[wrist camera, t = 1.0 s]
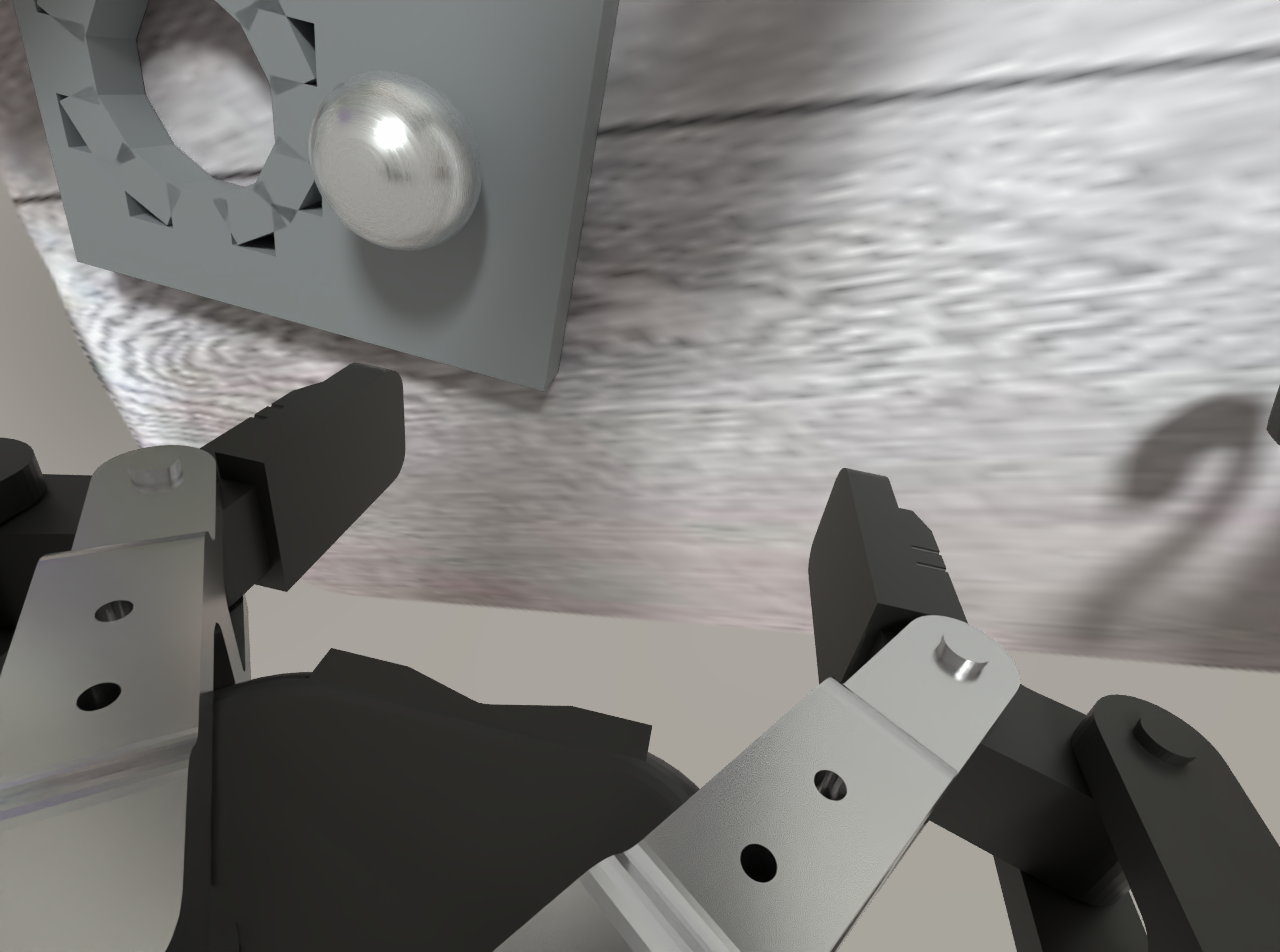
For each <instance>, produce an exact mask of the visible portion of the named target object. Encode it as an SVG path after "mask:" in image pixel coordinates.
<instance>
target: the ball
mask: <svg viewBox="0 0 1280 952" xmlns="http://www.w3.org/2000/svg"><path fill="white" fill-rule="evenodd" d="M309 159H310V165H311V170H312V174H313V177H314V180H315V183H316V185H317V187H318V190H319V192H320V194H321V196H322V197H323V199H324V201H325V202H326V204H327V205H328V207H329V208H330V210H331V211H332V212H333V213H334V215H335V216H336V217H337V218H338V219H339V220H340V221H341V222H342V223H343V224H344V225H345V226H346V227H347V228H349V229H350V230H351V231H353V232H354V233H356V234H357V235H359V236H360V237H362V238H363V239H365V240H367V241H369V242H371V243H373V244H376V245H379V246H382V247H385V248H389V249H394V250H401V251H416V250H423V249H427V248H431V247H434V246H437V245H439V244H442V243H443V242H445V241H447V240H448V239H450V238H451V237H453V236H454V235H455V234H456V233H458V232H459V231H460V230H461V229H462V228H463V226H464V225H465V224H466V223H467V221H468V220H469V218H470V217H471V215H472V213H473V212H474V209H475V207H476V205H477V202H478V198H479V195H480V190H481V183H482V167H481V158H480V154H479V149H478V146H477V143H476V140H475V137H474V135H473V133H472V131H471V129H470V127H469V125H468V123H467V122H466V120H465V118H464V117H463V116H462V114H461V113H460V111H459V110H458V109H457V108H456V107H455V106H454V104H453V103H452V102H451V101H450V100H449V99H448V98H447V97H446V96H445V95H443V94H442V93H441V92H440V91H438V90H437V89H436V88H434V87H433V86H431V85H429V84H428V83H426V82H424V81H422V80H420V79H418V78H416V77H413V76H410V75H407V74H403V73H398V72H393V71H372V72H365V73H361V74H358V75H355V76H353V77H351V78H349V79H347V80H345V81H343V82H341V83H340V84H338V85H337V86H336V87H335V88H334V89H332V90H331V91H330V92H329V94H328V95H327V96H326V97H325V98H324V99H323V101H322V102H321V104H320V106H319V107H318V109H317V111H316V114H315V116H314V119H313V121H312V125H311V129H310V134H309Z"/></svg>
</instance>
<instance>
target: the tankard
mask: <svg viewBox="0 0 1280 952" xmlns="http://www.w3.org/2000/svg"><path fill="white" fill-rule="evenodd" d="M1267 431H1268V433H1269V434H1270V435H1271V437H1272V438H1273V439H1274V440H1275V441H1276V442H1277V444H1279V445H1280V386H1279V389H1278V392H1277V395H1276V398H1275V401H1274V404H1273V407H1272V411H1271V414H1270V417H1269V420H1268V425H1267Z"/></svg>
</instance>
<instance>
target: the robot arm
mask: <svg viewBox="0 0 1280 952" xmlns="http://www.w3.org/2000/svg"><path fill="white" fill-rule="evenodd" d="M404 457H405V426H404V402H403V384H402V379H401V377H400V375H399V374H398V372H396V371H393V370H388V369H383V368H379V367H374V366H369V365H365V364H360V363H352V364H350V365H348V366H347V367H345V368H344V369H342V370H341V371H339V372H338V373H336V374H334V375H333V376H331V377H330V378H328V379H327V380H325V381H324V382H320V383H317V384H314V385H310V386H307V387H304V388H301V389H297V390H294V391H292V392H290V393H288V394H287V395H285V396H283V397H282V398H280V399H279V400H277V401H275V402H274V403H272V406H271V407H268V406H267V407H266V408H264V409H263V410H261V411H259V412H258V413H256V414H255V417H254V418H252V417H250V418H248V419H246V420H245V421H243V422H242V423H240V424H238V425H237V426H235V427H234V428H232V429H230V430H229V431H227V432H226V433H224V434H222V435H221V436H219V437H217V438H216V439H214V440H213V441H211V442H209V443H208V444H206V445H205V446H203V447H201V448H200V449H198V448H194V447H189V446H180V445H165V446H154V447H147V448H142V449H137V450H133V451H130V452H127V453H124V454H121V455H119V456H116V457H114V458H112V459H110V460H108V461H107V462H105V463H103V464H102V465H101V466H100V467H98V468H97V469H96V471H95V472H94V473H93V475H92V476H90V475H51V474H50V475H49V474H42V472H41V470H40V467H39V464H38V462H37V459H36V457H35V454H34V451H33V449H32V448H31V447H30V446H29V445H28V444H26V443H24V442H21V441H18V440H14V439H8V438H0V952H837V951H838V949H839V948H840V946H841V945H842V943H843V942H844V941H845V939H846V938H847V936H848V935H849V933H850V932H851V931H852V929H853V928H854V926H855V925H856V923H857V922H858V920H859V919H860V917H861V916H862V915H863V913H864V912H865V910H866V909H867V908H868V906H869V905H870V903H871V902H872V900H873V899H874V897H875V896H876V895H877V893H878V892H879V891H880V889H881V888H882V886H883V885H884V884H885V882H886V881H887V879H888V878H889V876H890V875H891V874H892V872H893V871H894V869H895V868H896V867H897V865H898V864H899V862H900V861H901V859H902V858H903V857H904V855H905V854H906V852H907V851H908V850H909V848H910V847H911V845H912V844H913V842H914V841H915V840H916V838H917V837H918V835H919V834H920V833H921V831H922V830H923V828H924V827H925V826H926V824H927V823H928V821H929V820H930V821H932V822H934V823H935V824H937V825H939V826H941V827H943V828H945V829H946V830H948V831H950V832H952V833H954V834H956V835H957V836H959V837H961V838H963V839H965V840H967V841H968V842H970V843H972V844H974V845H976V846H978V847H979V848H981V849H983V850H985V851H987V852H989V853H990V854H992V855H993V857H994V860H995V864H996V869H997V873H998V877H999V881H1000V885H1001V889H1002V893H1003V897H1004V901H1005V905H1006V909H1007V913H1008V917H1009V921H1010V925H1011V929H1012V933H1013V937H1014V941H1015V945H1016V949H1017V952H1280V847H1279V845H1278V843H1277V842H1276V840H1275V839H1274V837H1273V836H1272V834H1271V832H1270V831H1269V829H1268V828H1267V826H1266V825H1265V823H1264V821H1263V820H1262V818H1261V817H1260V815H1259V814H1258V812H1257V810H1256V809H1255V807H1254V806H1253V804H1252V803H1251V801H1250V800H1249V798H1248V796H1247V795H1246V793H1245V792H1244V790H1243V789H1242V787H1241V785H1240V784H1239V782H1238V781H1237V779H1236V778H1235V776H1234V774H1233V773H1232V771H1231V770H1230V768H1229V767H1228V765H1227V763H1226V762H1225V761H1224V759H1223V758H1222V756H1221V755H1220V754H1219V752H1218V751H1217V750H1216V749H1215V748H1214V747H1213V746H1212V745H1211V743H1210V742H1208V741H1207V740H1206V739H1205V738H1204V737H1203V736H1202V735H1201V734H1200V733H1199V732H1197V731H1196V730H1195V729H1194V728H1193V727H1191V726H1190V725H1189V724H1187V723H1186V722H1184V721H1183V720H1181V719H1180V718H1178V717H1177V716H1175V715H1173V714H1172V713H1170V712H1168V711H1167V710H1164V709H1162V708H1160V707H1159V706H1157V705H1154V704H1152V703H1149V702H1147V701H1145V700H1142V699H1138V698H1135V697H1131V696H1126V695H1108V696H1105V697H1102V698H1101V699H1100V700H1098V701H1097V703H1096V704H1095V705H1094V706H1093V708H1092V709H1091V710H1090V711H1089V713H1088V714H1087V715H1085V714H1083V713H1081V712H1078V711H1076V710H1074V709H1072V708H1070V707H1067V706H1065V705H1063V704H1061V703H1059V702H1056V701H1054V700H1052V699H1050V698H1047V697H1045V696H1043V695H1041V694H1038V693H1036V692H1034V691H1032V690H1030V689H1028V688H1026V687H1024V686H1023V685H1021V684H1020V674H1019V671H1018V668H1017V666H1016V664H1015V662H1014V661H1013V659H1012V657H1011V656H1010V655H1009V654H1008V653H1007V651H1006V650H1005V649H1004V648H1003V647H1002V646H1001V645H1000V644H999V643H998V642H996V641H995V640H994V639H993V638H991V637H990V636H989V635H987V634H986V633H984V632H983V631H981V630H979V629H977V628H976V627H974V626H972V625H969V624H968V622H967V620H966V617H965V615H964V612H963V610H962V607H961V605H960V602H959V600H958V597H957V594H956V592H955V589H954V587H953V584H952V582H951V579H950V577H949V574H948V572H945V570H946V566H945V564H944V561H943V559H942V556H941V555H939V549H938V546H937V544H936V541H935V539H934V536H933V533H932V531H931V530H930V529H929V528H928V527H927V526H926V525H925V524H924V523H923V522H922V520H921V519H920V518H919V517H918V516H917V515H916V514H915V513H914V512H913V511H911V510H906V509H901V508H898V505H897V502H896V499H895V496H894V493H893V490H892V487H891V484H890V481H889V479H888V478H887V477H885V476H881V475H876V474H871V473H867V472H862V471H857V470H853V469H848V468H843V469H842V470H841V471H840V472H839V474H838V476H837V478H836V481H835V483H834V486H833V489H832V492H831V494H830V497H829V500H828V502H827V505H826V508H825V511H824V513H823V516H822V519H821V521H820V524H819V527H818V530H817V532H816V535H815V538H814V541H813V544H812V548H811V553H810V558H809V568H808V574H809V585H810V595H811V605H812V615H813V625H814V635H815V646H816V656H817V666H818V676H819V685H818V686H817V687H816V688H815V689H814V690H812V691H811V692H810V693H809V694H808V695H807V696H806V697H804V698H803V699H802V700H801V701H800V702H799V703H798V704H797V705H795V706H794V707H793V708H792V709H791V710H790V711H789V712H787V713H786V714H785V715H784V716H783V717H782V718H781V719H780V720H778V721H777V722H776V723H775V724H774V725H773V726H771V727H770V728H769V729H768V730H767V731H766V732H765V733H763V734H762V735H761V736H760V737H759V738H758V739H757V740H755V741H754V742H753V743H752V744H751V745H750V746H749V747H748V748H746V749H745V750H744V751H743V752H742V753H741V754H740V755H738V756H737V757H736V758H735V759H734V760H733V761H732V762H731V763H729V764H728V765H727V766H726V767H725V768H724V769H723V770H721V771H720V772H719V773H718V774H717V775H716V776H714V777H713V778H712V779H711V780H710V781H709V782H708V783H706V784H705V785H704V786H703V787H702V788H701V789H699V788H698V787H697V786H696V785H695V784H694V783H693V782H692V781H691V780H689V779H688V778H687V777H686V776H685V775H684V774H682V773H681V772H680V771H679V770H677V769H675V768H674V767H672V766H671V765H670V764H668V763H667V762H665V761H664V760H662V759H660V758H658V757H656V756H655V755H653V754H651V753H649V752H648V747H649V741H650V735H651V730H652V725H648V724H644V723H639V722H635V721H631V720H627V719H623V718H619V717H615V716H610V715H606V714H602V713H598V712H594V711H589V710H585V709H582V708H577V707H573V706H541V705H540V706H539V705H490V704H482V703H478V702H476V701H473V700H471V699H469V698H468V697H466V696H464V695H462V694H460V693H458V692H456V691H454V690H452V689H450V688H448V687H446V686H445V685H443V684H441V683H439V682H437V681H435V680H433V679H431V678H429V677H427V676H425V675H423V674H421V673H420V672H418V671H416V670H414V669H412V668H410V667H408V666H403V665H399V664H395V663H391V662H387V661H383V660H379V659H374V658H370V657H366V656H362V655H358V654H354V653H350V652H346V651H341V650H337V649H333V648H331V649H330V650H329V652H328V653H327V654H326V655H325V657H324V658H323V659H322V661H321V662H320V663H319V664H318V666H317V667H316V668H315V669H314V671H313V672H299V673H287V674H279V675H273V676H266V677H261V678H257V679H253V680H251V669H250V644H249V623H248V622H249V621H248V606H247V602H246V597H245V593H246V592H247V590H249V589H250V588H251V587H252V586H253V585H254V584H256V585H260V586H264V587H269V588H273V589H277V590H281V591H286V592H287V591H288V590H289V589H290V588H291V587H292V586H293V585H294V584H295V583H296V582H297V581H298V580H299V579H300V578H301V577H302V576H303V575H304V574H305V573H306V572H307V570H308V569H309V568H310V567H311V566H312V565H313V564H314V563H315V562H316V561H317V560H318V559H319V558H320V557H321V556H322V555H323V554H324V553H325V552H326V551H327V550H328V549H329V548H330V547H331V546H332V545H333V544H334V542H335V541H336V540H337V539H338V538H339V537H340V536H341V535H342V534H343V533H344V532H345V531H346V530H347V529H348V528H349V527H350V526H351V525H352V524H353V523H354V522H355V521H356V520H357V519H358V518H359V517H360V516H361V515H362V513H363V512H364V511H365V510H366V509H367V508H368V507H369V506H370V505H371V504H372V503H373V502H374V501H375V500H376V499H377V498H378V497H379V496H380V495H381V494H382V493H383V492H384V491H385V490H386V489H387V488H388V487H389V485H390V484H391V483H392V482H393V481H394V480H395V479H396V478H397V476H398V474H399V472H400V470H401V468H402V465H403V461H404ZM1130 889H1131V891H1132V893H1133V896H1134V898H1135V901H1136V903H1137V905H1138V908H1139V910H1140V913H1141V915H1142V918H1143V921H1144V923H1145V927H1146V931H1147V935H1146V932H1145V930H1144V927H1143V925H1142V922H1141V920H1140V918H1139V915H1138V913H1137V910H1136V908H1135V905H1134V903H1133V900H1132V898H1131V896H1130V893H1129V890H1130Z"/></svg>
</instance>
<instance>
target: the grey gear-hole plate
mask: <svg viewBox="0 0 1280 952" xmlns="http://www.w3.org/2000/svg"><path fill="white" fill-rule="evenodd" d="M215 1H216V2H217V3H218V4H219V5H220V6H221V7H223V8H224V9H225V10H226V11H227V12H228V13H229V14H230V15H231V16H232V17H233V18H234V19H235V20H237V21H238V22H239V23H240V24H241V26H242V28H243V30H244V32H245V34H246V36H247V38H248V40H249V42H250V44H251V46H252V48H253V51H254V53H255V55H256V57H257V59H258V61H259V63H260V65H261V67H262V69H263V71H264V73H265V75H266V77H267V79H268V81H269V83H270V85H271V96H272V109H273V122H274V135H275V144H274V146H273V149H272V151H271V153H270V155H269V157H268V159H267V161H266V163H265V165H264V167H263V169H262V171H261V173H260V175H259V177H258V179H257V181H256V183H254V184H252V185H249V186H247V187H242V186H239V185H235V184H231V183H228V182H224V181H220V180H217V179H214V178H213V177H211V176H210V175H209V174H208V173H207V172H205V171H204V170H203V169H202V168H201V167H200V166H198V165H197V164H196V163H195V162H194V161H193V160H191V159H190V158H189V157H188V156H187V155H186V154H184V153H183V152H182V151H181V150H180V149H179V148H177V147H176V146H175V145H174V144H173V142H172V140H171V139H170V137H169V135H168V133H167V132H166V130H165V128H164V126H163V125H162V123H161V121H160V119H159V118H158V116H157V114H156V112H155V111H154V109H153V107H152V106H151V104H150V102H149V100H148V99H147V97H146V95H145V91H144V85H143V79H142V73H141V67H140V61H139V55H138V49H137V43H136V38H137V35H138V32H139V29H140V26H141V23H142V20H143V17H144V14H145V11H146V8H147V5H148V2H149V0H13V4H14V8H15V12H16V16H17V20H18V24H19V29H20V33H21V37H22V41H23V45H24V49H25V53H26V57H27V61H28V65H29V69H30V73H31V77H32V81H33V85H34V89H35V93H36V97H37V101H38V105H39V109H40V113H41V117H42V121H43V125H44V129H45V133H46V137H47V141H48V145H49V149H50V153H51V157H52V161H53V165H54V169H55V173H56V177H57V181H58V185H59V190H60V194H61V198H62V202H63V206H64V210H65V214H66V218H67V222H68V226H69V230H70V234H71V238H72V242H73V246H74V250H75V254H76V258H77V262H81V263H85V264H88V265H92V266H95V267H99V268H103V269H106V270H110V271H113V272H117V273H120V274H124V275H128V276H131V277H135V278H138V279H142V280H146V281H149V282H153V283H156V284H160V285H163V286H167V287H171V288H174V289H178V290H181V291H185V292H189V293H192V294H196V295H199V296H203V297H206V298H210V299H214V300H217V301H221V302H224V303H228V304H232V305H235V306H239V307H242V308H246V309H250V310H253V311H257V312H260V313H264V314H267V315H271V316H275V317H278V318H282V319H285V320H289V321H293V322H296V323H300V324H303V325H307V326H310V327H314V328H318V329H321V330H325V331H328V332H332V333H336V334H339V335H343V336H346V337H350V338H353V339H357V340H361V341H364V342H368V343H371V344H375V345H379V346H382V347H386V348H389V349H393V350H397V351H400V352H404V353H407V354H411V355H414V356H418V357H422V358H425V359H429V360H432V361H436V362H440V363H443V364H447V365H450V366H454V367H457V368H461V369H465V370H468V371H472V372H475V373H479V374H483V375H486V376H490V377H493V378H497V379H500V380H504V381H508V382H511V383H515V384H518V385H522V386H526V387H529V388H533V389H536V390H540V391H543V392H544V391H545V390H546V388H547V387H548V385H549V384H550V383H551V381H552V380H553V379H554V377H555V376H556V375H557V373H558V370H559V364H560V358H561V352H562V346H563V340H564V333H565V327H566V321H567V315H568V309H569V303H570V297H571V291H572V285H573V279H574V272H575V266H576V260H577V254H578V248H579V242H580V236H581V230H582V224H583V218H584V212H585V205H586V199H587V193H588V187H589V181H590V175H591V169H592V163H593V157H594V151H595V144H596V138H597V132H598V126H599V120H600V114H601V108H602V102H603V96H604V90H605V83H606V77H607V71H608V65H609V59H610V53H611V47H612V41H613V35H614V29H615V23H616V16H617V10H618V4H619V0H215ZM372 71H393V72H398V73H403V74H407V75H410V76H413V77H416V78H418V79H420V80H422V81H424V82H426V83H428V84H429V85H431V86H433V87H434V88H436V89H437V90H438V91H440V92H441V93H442V94H443V95H445V96H446V97H447V98H448V99H449V100H450V101H451V102H452V103H453V104H454V106H455V107H456V108H457V109H458V110H459V111H460V113H461V114H462V116H463V117H464V118H465V120H466V122H467V123H468V125H469V127H470V129H471V131H472V133H473V135H474V137H475V140H476V143H477V146H478V149H479V154H480V158H481V167H482V183H481V190H480V195H479V198H478V202H477V205H476V207H475V209H474V212H473V213H472V215H471V217H470V218H469V220H468V221H467V223H466V224H465V225H464V226H463V228H462V229H461V230H460V231H459V232H458V233H456V234H455V235H454V236H453V237H451V238H450V239H448V240H447V241H445V242H443V243H442V244H439V245H437V246H434V247H431V248H427V249H423V250H416V251H401V250H394V249H389V248H385V247H382V246H379V245H376V244H373V243H371V242H369V241H367V240H365V239H363V238H362V237H360V236H359V235H357V234H356V233H354V232H353V231H351V230H350V229H349V228H347V227H346V226H345V225H344V224H343V223H342V222H341V221H340V220H339V219H338V218H337V217H336V216H335V215H334V213H333V212H332V211H331V210H330V208H329V207H328V205H327V204H326V202H325V201H324V199H323V197H322V196H321V194H320V192H319V190H318V187H317V185H316V183H315V180H314V177H313V174H312V170H311V165H310V159H309V134H310V129H311V125H312V121H313V119H314V116H315V114H316V111H317V109H318V107H319V106H320V104H321V102H322V101H323V99H324V98H325V97H326V96H327V95H328V94H329V92H330V91H331V90H332V89H334V88H335V87H336V86H337V85H338V84H340V83H341V82H343V81H345V80H347V79H349V78H351V77H353V76H355V75H358V74H361V73H365V72H372ZM273 234H274V236H271V235H273Z"/></svg>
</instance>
